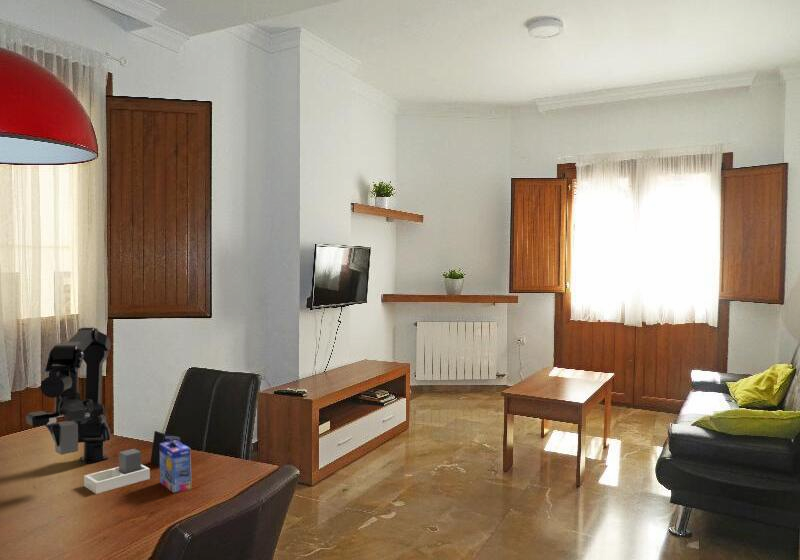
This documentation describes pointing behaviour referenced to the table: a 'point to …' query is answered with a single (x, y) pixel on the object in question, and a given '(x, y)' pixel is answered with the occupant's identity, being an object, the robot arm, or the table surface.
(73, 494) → the table surface
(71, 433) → the grey rectangular block
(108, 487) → the dock
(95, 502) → the table surface
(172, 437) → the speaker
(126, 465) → the twin plug
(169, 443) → the ink cartridge box
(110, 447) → the table surface
